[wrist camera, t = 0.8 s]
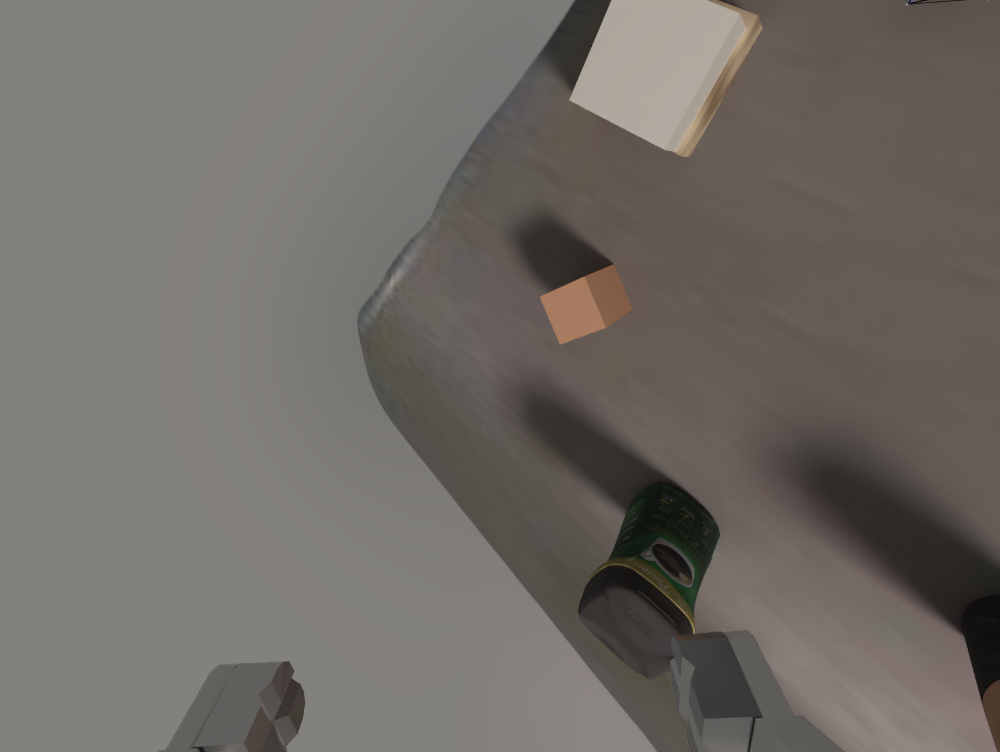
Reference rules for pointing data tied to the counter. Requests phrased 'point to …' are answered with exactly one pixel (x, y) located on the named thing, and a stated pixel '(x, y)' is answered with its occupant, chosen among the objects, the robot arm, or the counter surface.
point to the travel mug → (985, 656)
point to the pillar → (586, 304)
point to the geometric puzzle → (925, 2)
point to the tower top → (657, 65)
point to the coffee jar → (651, 579)
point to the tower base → (721, 79)
